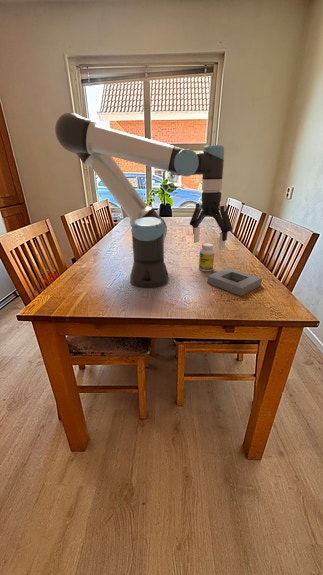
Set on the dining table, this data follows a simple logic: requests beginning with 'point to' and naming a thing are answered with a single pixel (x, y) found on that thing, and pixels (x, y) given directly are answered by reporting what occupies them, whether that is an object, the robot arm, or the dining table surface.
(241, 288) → the bottle holder
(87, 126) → the robot arm
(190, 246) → the dining table surface
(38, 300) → the dining table surface
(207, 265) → the pill bottle
